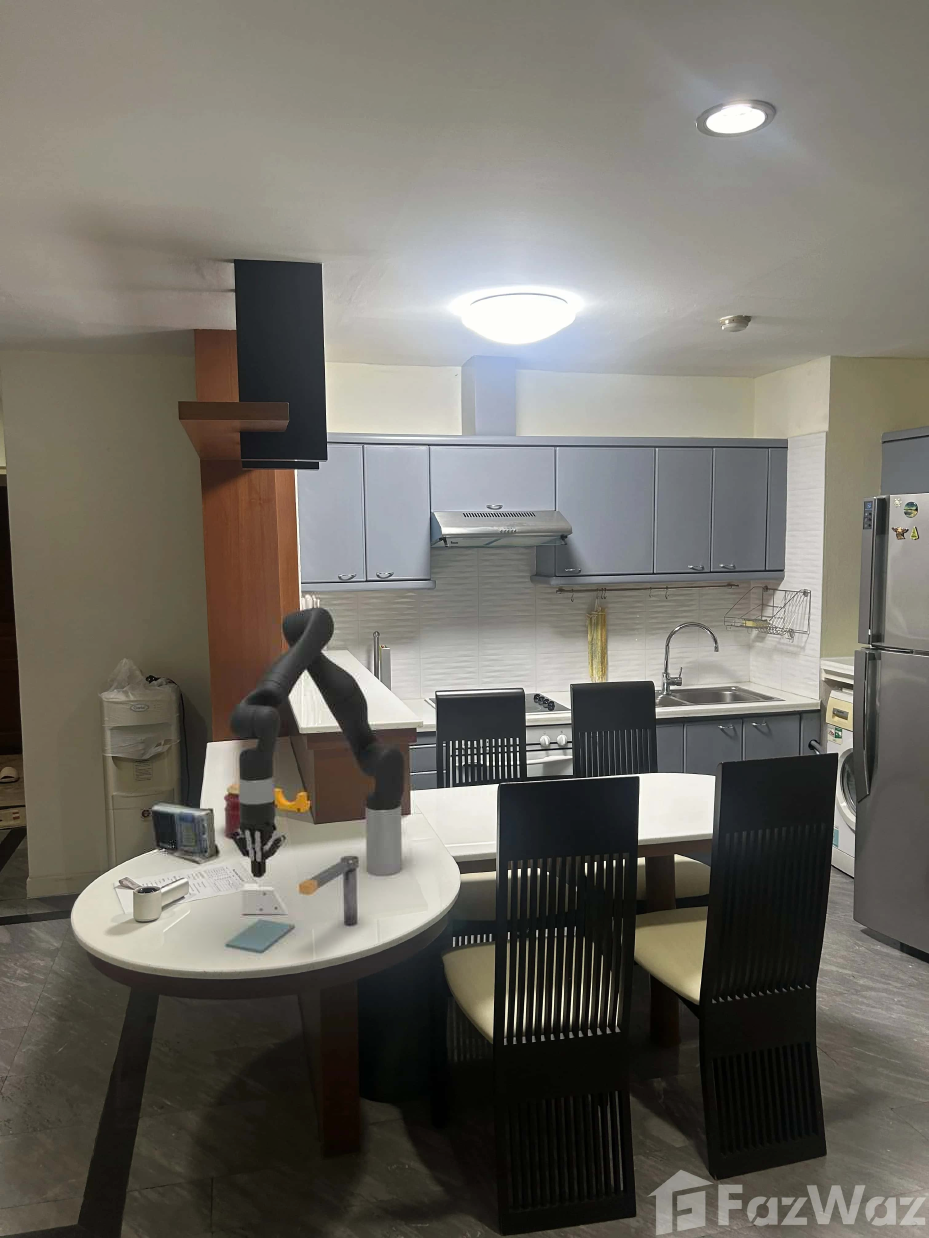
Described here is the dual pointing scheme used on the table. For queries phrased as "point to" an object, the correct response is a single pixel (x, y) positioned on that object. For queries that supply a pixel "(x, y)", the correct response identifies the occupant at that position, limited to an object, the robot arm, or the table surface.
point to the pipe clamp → (298, 805)
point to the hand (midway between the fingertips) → (258, 876)
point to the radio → (185, 832)
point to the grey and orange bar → (328, 875)
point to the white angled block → (262, 900)
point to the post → (350, 897)
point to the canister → (232, 809)
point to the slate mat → (260, 936)
